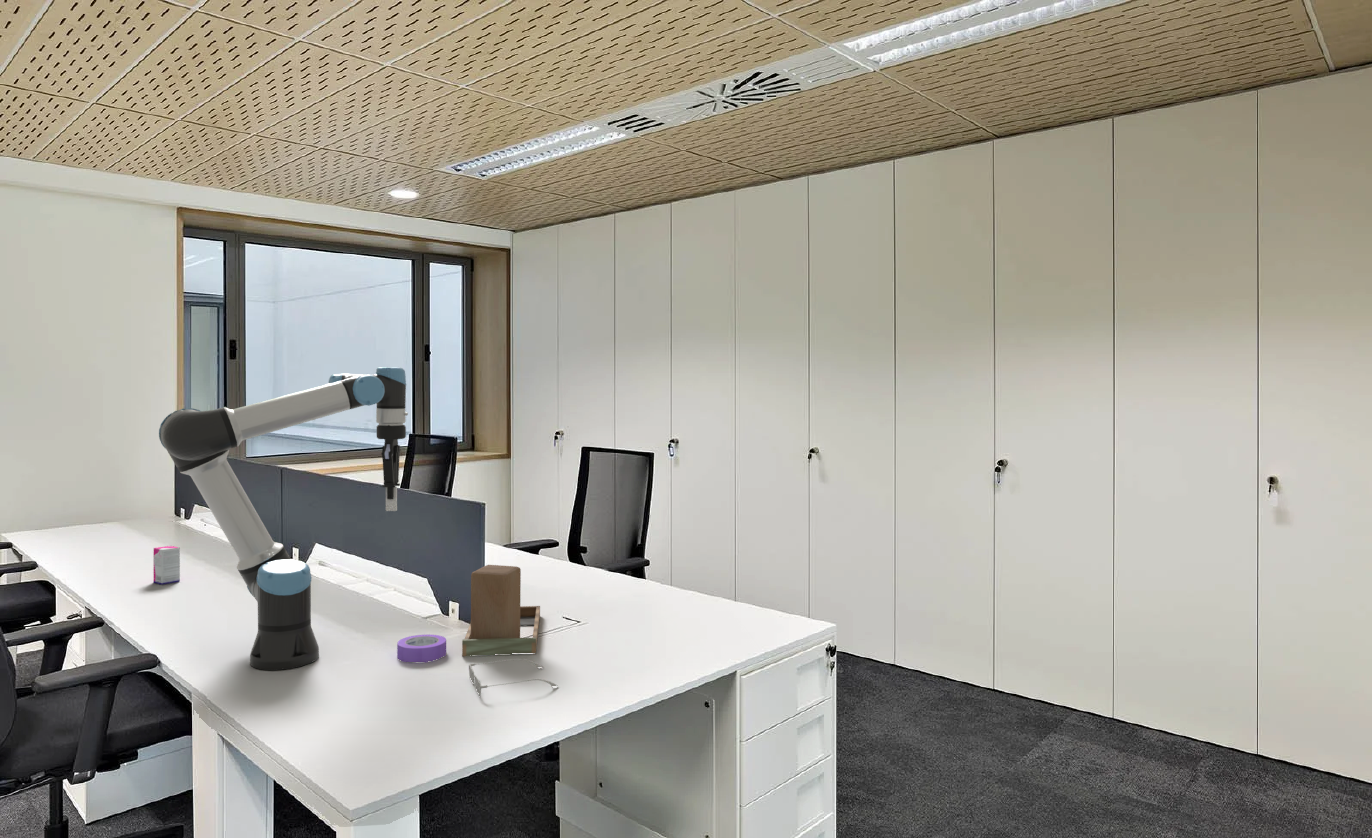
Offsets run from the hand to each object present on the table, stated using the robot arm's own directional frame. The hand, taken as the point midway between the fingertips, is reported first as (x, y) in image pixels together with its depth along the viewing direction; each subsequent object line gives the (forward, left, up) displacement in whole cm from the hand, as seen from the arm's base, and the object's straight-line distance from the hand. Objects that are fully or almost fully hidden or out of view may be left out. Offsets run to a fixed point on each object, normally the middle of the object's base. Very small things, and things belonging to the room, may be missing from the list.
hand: (391, 510), depth 233 cm
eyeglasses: (-45, -36, -33) cm, 66 cm away
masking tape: (-24, -12, -33) cm, 42 cm away
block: (-18, -29, -33) cm, 47 cm away
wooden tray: (-9, -31, -32) cm, 46 cm away
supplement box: (+57, +82, -33) cm, 105 cm away
